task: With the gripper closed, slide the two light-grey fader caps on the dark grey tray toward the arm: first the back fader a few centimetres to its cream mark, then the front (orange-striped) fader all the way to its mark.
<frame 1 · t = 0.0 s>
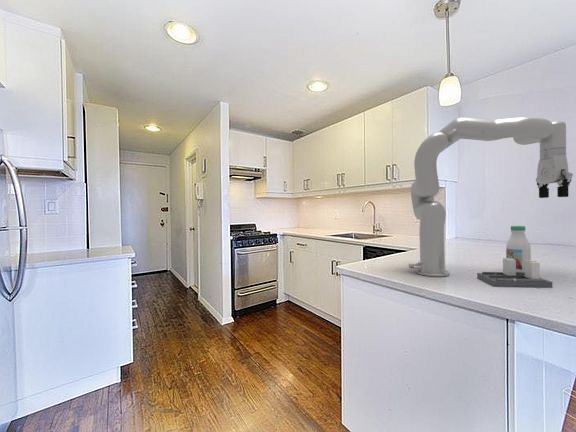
hand: (553, 197, 107), 31 cm above the worktop, fingers open, 9 cm apart
milk bottle: (518, 274, 110), on the worktop
dark grey tray: (512, 282, 100), on the worktop
front fader: (532, 269, 96), point 5 cm above the worktop, slide at 0.0 cm
back fader: (509, 266, 102), point 5 cm above the worktop, slide at 4.5 cm
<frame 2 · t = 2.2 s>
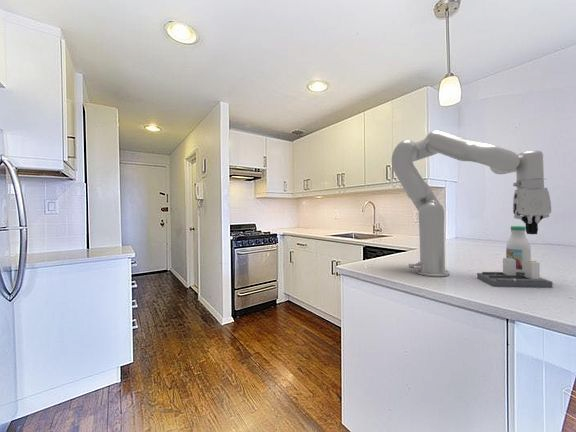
hand: (531, 233, 100), 18 cm above the worktop, fingers closed
nothing on the worktop moved.
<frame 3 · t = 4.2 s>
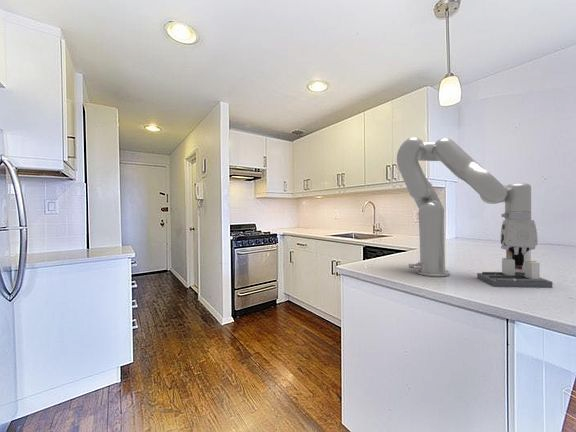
hand: (517, 264, 102), 6 cm above the worktop, fingers closed
back fader: (508, 266, 102), point 5 cm above the worktop, slide at 4.8 cm, touching gripper
everything else where it was.
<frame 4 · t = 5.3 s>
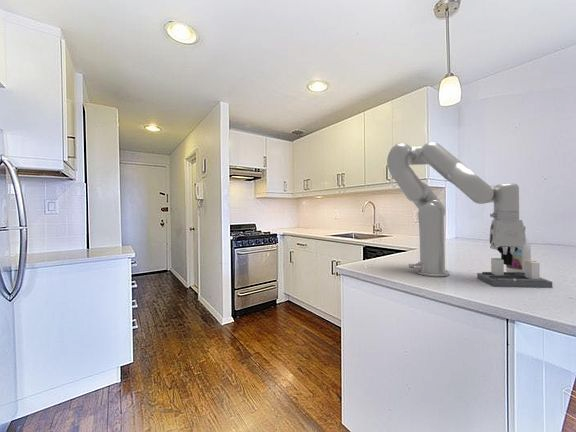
hand: (506, 264, 102), 6 cm above the worktop, fingers closed
back fader: (497, 266, 103), point 5 cm above the worktop, slide at 8.5 cm, touching gripper
everything else where it was.
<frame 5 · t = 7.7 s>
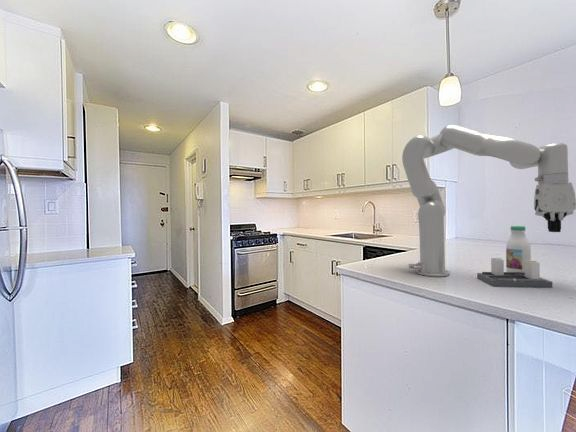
hand: (554, 231, 95), 19 cm above the worktop, fingers closed
back fader: (497, 266, 103), point 5 cm above the worktop, slide at 8.5 cm
everything else where it was.
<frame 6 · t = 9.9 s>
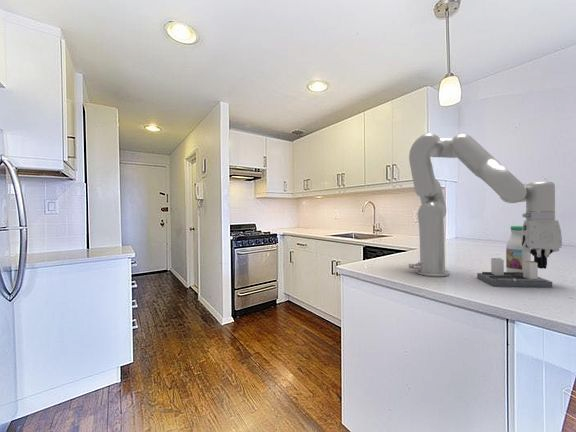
hand: (540, 267, 96), 6 cm above the worktop, fingers closed
front fader: (530, 269, 97), point 5 cm above the worktop, slide at 0.6 cm, touching gripper
everything else where it was.
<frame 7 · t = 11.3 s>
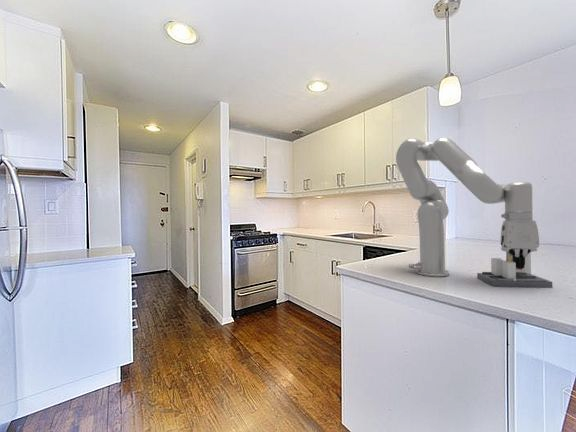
hand: (518, 267, 97), 6 cm above the worktop, fingers closed
front fader: (508, 269, 98), point 5 cm above the worktop, slide at 7.3 cm, touching gripper
everything else where it was.
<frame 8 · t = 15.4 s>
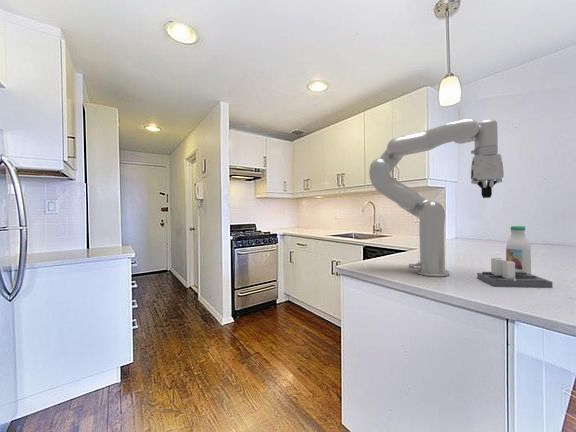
hand: (486, 197, 109), 32 cm above the worktop, fingers closed
front fader: (508, 269, 98), point 5 cm above the worktop, slide at 7.5 cm
everything else where it was.
at the end: front fader slide at 7.5 cm; back fader slide at 8.5 cm; front fader moved 7.5 cm from its start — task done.
